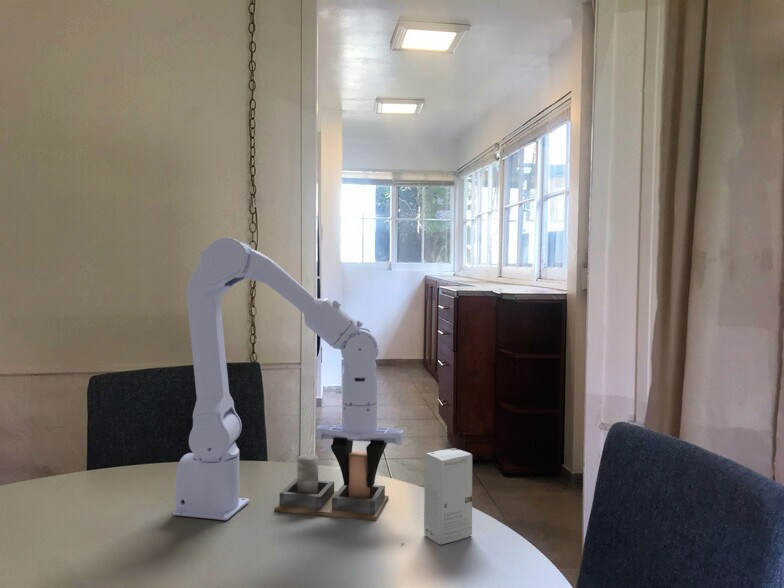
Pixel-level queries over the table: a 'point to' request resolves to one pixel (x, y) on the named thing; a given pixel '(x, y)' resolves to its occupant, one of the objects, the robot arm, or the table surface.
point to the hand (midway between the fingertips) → (359, 484)
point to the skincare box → (448, 495)
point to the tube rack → (327, 496)
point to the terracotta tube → (358, 475)
